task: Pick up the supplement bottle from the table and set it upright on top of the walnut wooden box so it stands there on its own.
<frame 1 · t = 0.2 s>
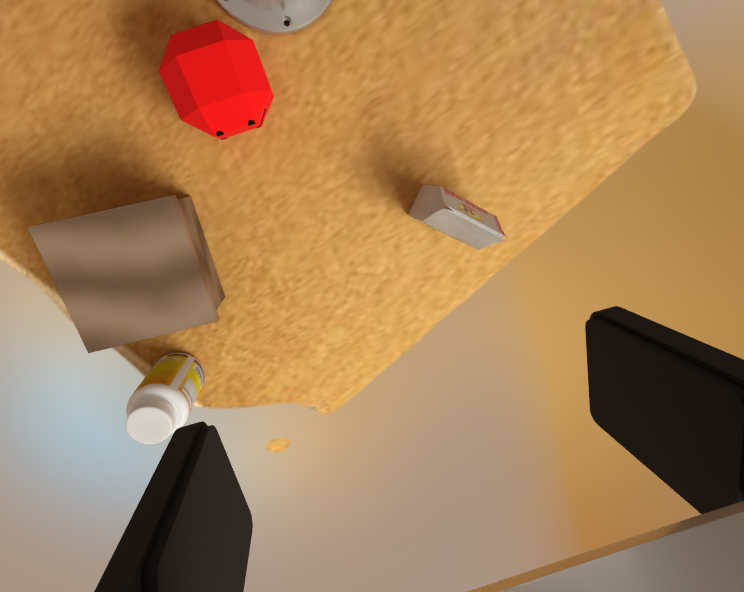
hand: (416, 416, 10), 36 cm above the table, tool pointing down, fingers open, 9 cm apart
supplement bottle: (181, 372, 47), on the table
ball: (228, 92, 39), on the table
walnut box: (155, 260, 43), on the table
white carton: (440, 212, 46), on the table
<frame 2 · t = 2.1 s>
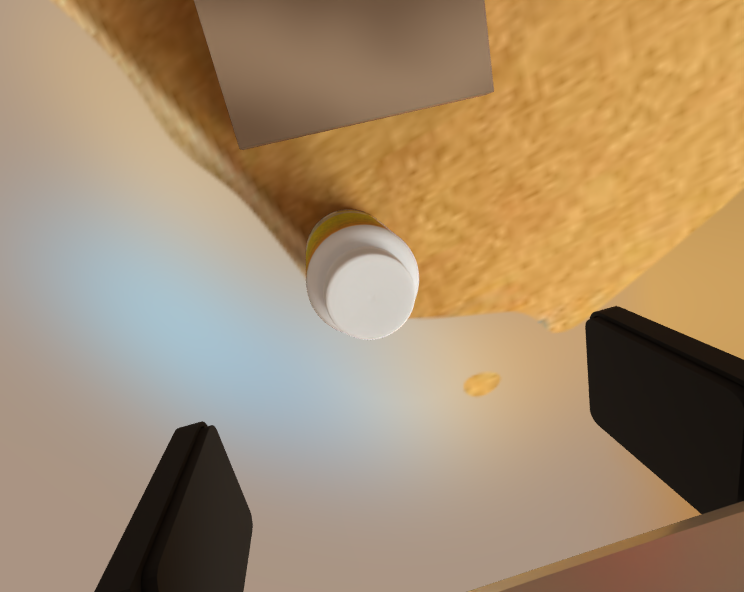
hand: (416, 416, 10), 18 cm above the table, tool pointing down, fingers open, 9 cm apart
supplement bottle: (348, 250, 27), on the table
walnut box: (329, 21, 23), on the table
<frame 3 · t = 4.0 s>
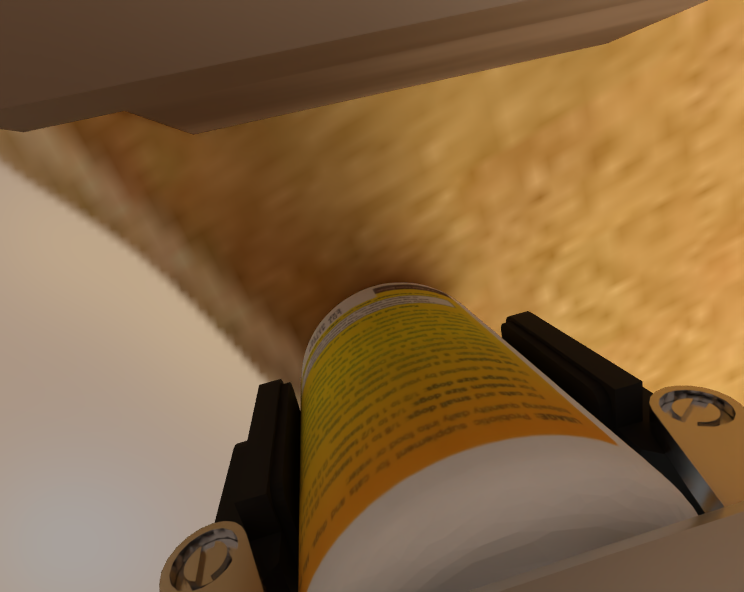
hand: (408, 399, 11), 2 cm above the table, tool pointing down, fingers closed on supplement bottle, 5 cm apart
supplement bottle: (391, 361, 13), on the table, touching gripper
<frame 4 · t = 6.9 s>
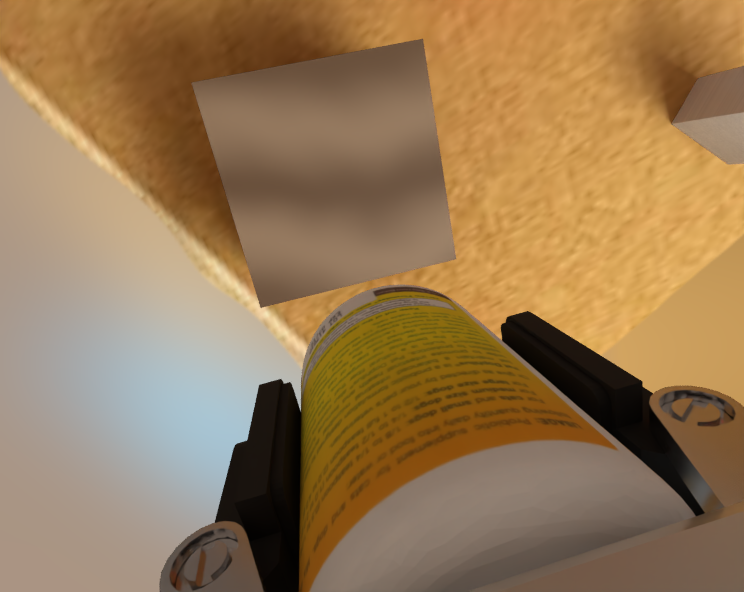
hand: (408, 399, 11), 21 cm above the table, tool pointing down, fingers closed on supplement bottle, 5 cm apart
supplement bottle: (391, 363, 13), point 18 cm above the table, touching gripper
walnut box: (329, 181, 29), on the table
white carton: (711, 123, 33), on the table
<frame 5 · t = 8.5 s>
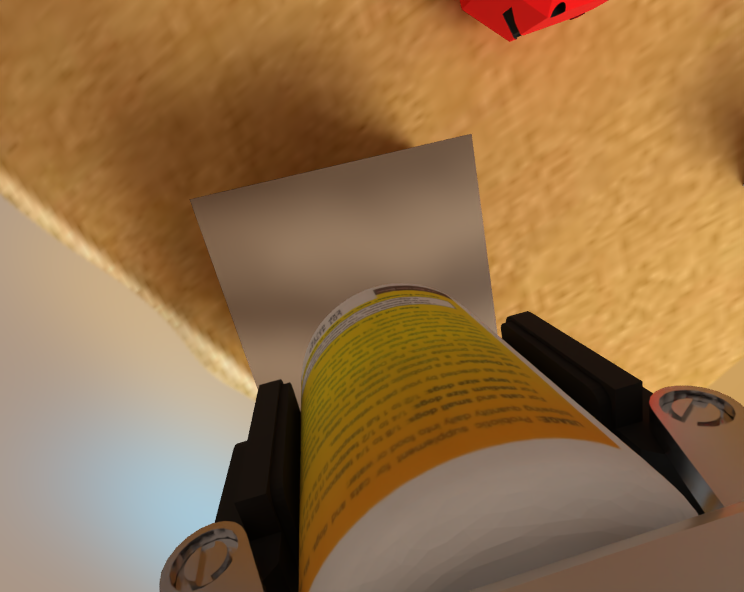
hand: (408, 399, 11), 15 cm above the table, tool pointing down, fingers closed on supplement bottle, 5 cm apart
supplement bottle: (391, 362, 13), point 13 cm above the table, touching gripper
walnut box: (350, 265, 25), on the table
when the fingers open (10 cm above the table, at t = 9.8 s): supplement bottle drops 1 cm, resting on walnut box.
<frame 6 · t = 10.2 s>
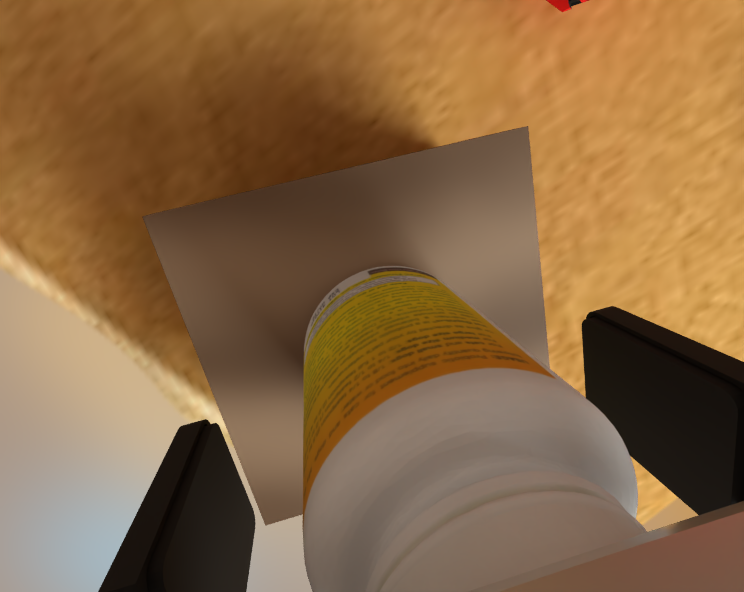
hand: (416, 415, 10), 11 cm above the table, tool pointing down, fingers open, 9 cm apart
supplement bottle: (385, 339, 14), point 7 cm above the table, touching walnut box
walnut box: (358, 289, 21), on the table
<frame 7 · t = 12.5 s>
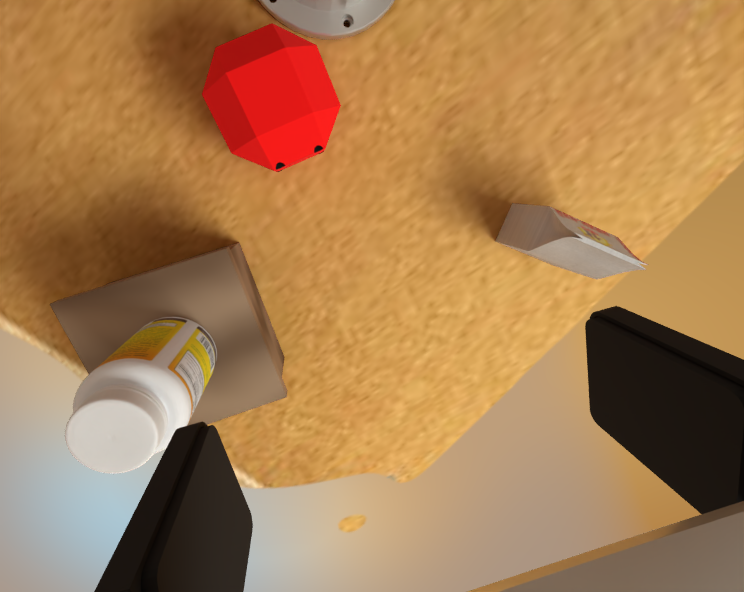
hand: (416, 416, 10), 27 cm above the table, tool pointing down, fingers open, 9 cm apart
supplement bottle: (178, 350, 29), point 7 cm above the table, touching walnut box
ball: (278, 114, 32), on the table
walnut box: (201, 322, 35), on the table
white carton: (532, 235, 38), on the table
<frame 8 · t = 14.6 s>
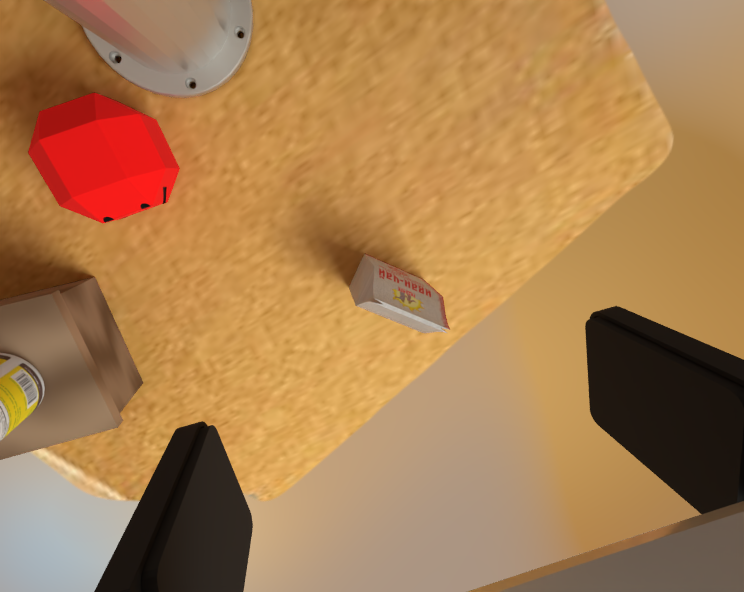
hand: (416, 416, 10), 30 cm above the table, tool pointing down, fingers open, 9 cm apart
supplement bottle: (9, 382, 31), point 7 cm above the table, touching walnut box
ball: (131, 162, 34), on the table
walnut box: (59, 347, 38), on the table
white carton: (386, 283, 41), on the table
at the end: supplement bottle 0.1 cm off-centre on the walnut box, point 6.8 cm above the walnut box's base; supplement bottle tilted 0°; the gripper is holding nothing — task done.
